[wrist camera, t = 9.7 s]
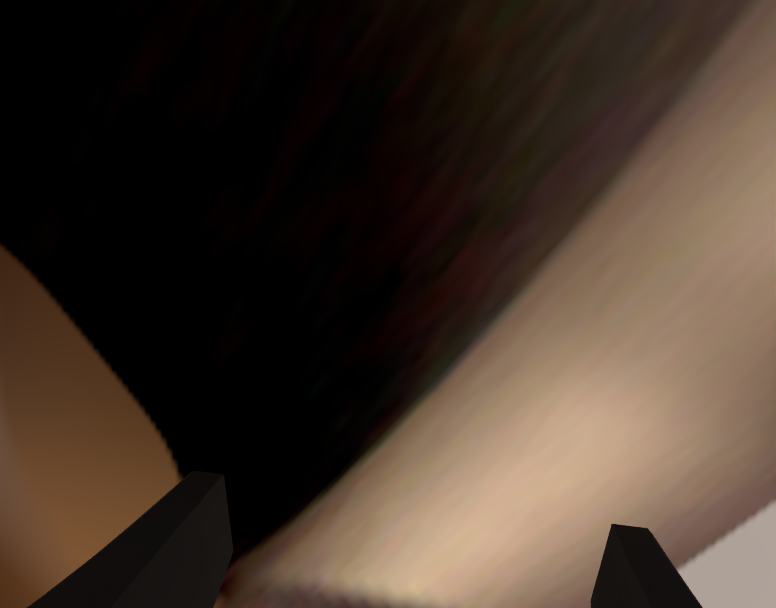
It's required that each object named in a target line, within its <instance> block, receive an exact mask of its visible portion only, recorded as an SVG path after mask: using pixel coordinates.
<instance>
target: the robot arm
mask: <svg viewBox="0 0 776 608" xmlns="http://www.w3.org/2000/svg"><path fill="white" fill-rule="evenodd" d="M232 552H233V545H232V537H231V529H230V521H229V513H228V505H227V497H226V489H225V481H224V475H223V474H215V473H207V472H199V471H193V472H191V473H190V474H189V475H188V476H186V477H185V478H184V479H183V480H182V481H181V482H179V483H178V484H177V485H176V486H175V487H174V488H173V489H172V490H170V491H169V492H168V493H167V494H166V495H165V496H164V497H162V498H161V499H160V500H159V501H158V502H157V503H156V504H155V505H153V506H152V507H151V508H150V509H149V510H148V511H147V512H145V513H144V514H143V515H142V516H141V517H139V518H138V519H137V520H136V521H135V522H134V523H133V524H132V525H130V526H129V527H128V528H127V529H125V530H124V531H123V532H122V533H121V534H120V535H118V536H117V537H116V538H115V539H114V540H112V541H111V542H110V543H109V544H108V545H107V546H106V547H104V548H103V549H102V550H100V551H99V552H98V553H97V554H96V555H95V556H93V557H92V558H91V559H90V560H88V561H87V562H86V563H85V564H83V565H82V566H81V567H79V568H78V569H77V570H76V571H75V572H73V573H72V574H70V575H69V576H68V577H67V578H65V579H64V580H63V581H61V582H60V583H59V584H57V585H56V586H55V587H54V588H52V589H51V590H50V591H48V592H47V593H46V594H45V595H44V596H42V597H41V598H39V599H38V600H36V601H35V602H34V603H32V604H31V605H30V606H28V607H27V608H213V606H214V604H215V601H216V598H217V596H218V593H219V590H220V587H221V585H222V582H223V579H224V576H225V573H226V570H227V567H228V564H229V561H230V558H231V555H232ZM591 608H702V606H701V605H700V603H699V602H698V600H697V599H696V597H695V596H694V595H693V593H692V592H691V590H690V589H689V587H688V586H687V585H686V583H685V582H684V580H683V579H682V577H681V576H680V574H679V573H678V571H677V570H676V568H675V567H674V566H673V564H672V563H671V561H670V560H669V558H668V557H667V555H666V554H665V552H664V551H663V549H662V548H661V546H660V545H659V543H658V542H657V540H656V539H655V537H654V536H653V534H652V533H651V532H650V531H649V529H648V528H641V527H633V526H625V525H617V524H612V525H611V529H610V532H609V536H608V540H607V543H606V547H605V551H604V554H603V558H602V561H601V565H600V569H599V572H598V576H597V580H596V583H595V587H594V590H593V594H592V598H591Z"/></svg>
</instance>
